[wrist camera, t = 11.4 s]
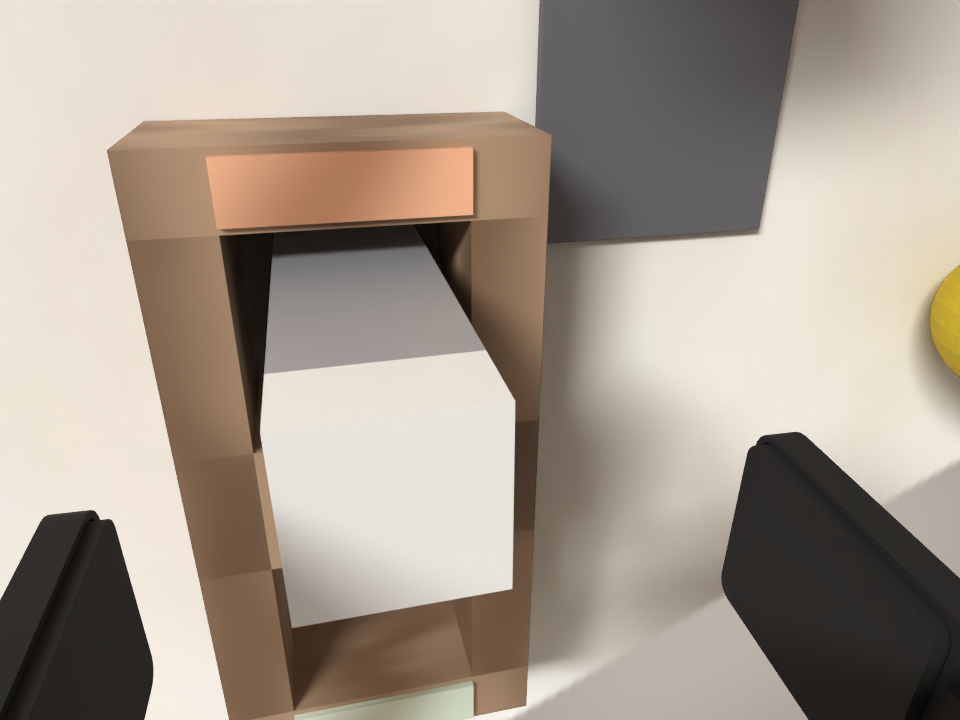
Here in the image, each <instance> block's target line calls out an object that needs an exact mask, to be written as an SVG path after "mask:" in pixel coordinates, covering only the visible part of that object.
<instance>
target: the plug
mask: <svg viewBox="0 0 960 720" xmlns="http://www.w3.org/2000/svg"><path fill="white" fill-rule="evenodd" d="M260 436H261V442H262V448H263V454H264V460H265V466H266V473H267V479H268V485H269V491H270V497H271V503H272V509H273V515H274V521H275V528H276V534H277V540H278V546H279V552H280V558H281V564H282V570H283V576H284V582H285V589H286V595H287V601H288V607H289V613H290V619H291V625H292V628H296V627H301V626H307V625H313V624H318V623H324V622H330V621H335V620H341V619H346V618H352V617H358V616H363V615H369V614H375V613H380V612H386V611H391V610H397V609H403V608H408V607H414V606H420V605H425V604H431V603H436V602H442V601H448V600H453V599H459V598H465V597H470V596H476V595H481V594H487V593H493V592H498V591H504V590H510V589H512V583H513V519H514V454H515V400H514V398H513V396H512V394H511V393H510V391H509V389H508V387H507V386H506V384H505V382H504V381H503V379H502V377H501V375H500V374H499V372H498V370H497V368H496V367H495V365H494V363H493V361H492V360H491V358H490V356H489V354H488V353H487V351H486V349H485V348H484V346H483V344H482V342H481V341H480V339H479V337H478V335H477V334H476V332H475V330H474V328H473V327H472V325H471V323H470V321H469V320H468V318H467V316H466V315H465V313H464V311H463V309H462V308H461V306H460V304H459V302H458V301H457V299H456V297H455V295H454V294H453V292H452V290H451V288H450V287H449V285H448V283H447V281H446V280H445V278H444V276H443V275H442V273H441V271H440V269H439V268H438V266H437V264H436V262H435V261H434V259H433V257H432V255H431V254H430V252H429V250H428V248H427V247H426V245H425V243H424V242H423V240H422V238H421V236H420V235H419V233H418V231H417V229H416V228H415V226H414V224H408V225H391V226H374V227H357V228H339V229H322V230H305V231H288V232H274V238H273V252H272V267H271V281H270V295H269V310H268V324H267V338H266V353H265V367H264V382H263V396H262V410H261V425H260Z"/></svg>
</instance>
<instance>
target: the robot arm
mask: <svg viewBox="0 0 960 720" xmlns="http://www.w3.org/2000/svg"><path fill="white" fill-rule="evenodd" d="M721 578H722V586H723V590H724V592H725V595H726V597H727V599H728V600H729V602H730V603H731V604H732V606H733V607H734V609H735V611H736V612H737V614H738V615H739V617H740V618H741V619H742V621H743V623H744V624H745V625H746V627H747V628H748V630H749V631H750V633H751V634H752V636H753V637H754V639H755V640H756V642H757V643H758V645H759V646H760V648H761V649H762V651H763V652H764V654H765V655H766V657H767V658H768V660H769V661H770V663H771V664H772V666H773V667H774V669H775V670H776V672H777V673H778V675H779V676H780V678H781V679H782V681H783V682H784V684H785V685H786V687H787V688H788V690H789V691H790V693H791V694H792V696H793V697H794V699H795V700H796V702H797V703H798V705H799V706H800V708H801V709H802V711H803V712H804V713H805V715H806V716H807V718H808V720H960V578H959V577H958V576H956V575H955V574H954V573H953V572H952V571H951V570H950V569H949V568H948V567H947V566H946V565H945V564H944V563H943V562H941V561H940V560H939V559H938V558H937V557H936V556H935V555H934V554H933V553H932V552H931V551H929V550H928V549H927V548H926V547H925V546H924V545H923V544H922V543H921V542H920V541H919V540H918V539H916V538H915V537H914V536H913V535H912V534H911V533H910V532H909V531H908V530H907V529H906V528H905V527H904V526H902V525H901V524H900V523H899V522H898V521H897V520H896V519H895V518H894V517H893V516H892V515H891V514H889V513H888V512H887V511H886V510H885V509H884V508H883V507H882V506H881V505H880V504H879V503H878V502H876V501H875V500H874V499H873V498H872V497H871V496H870V495H869V494H868V493H867V492H866V491H865V490H863V489H862V488H861V487H860V486H859V485H858V484H857V483H856V482H855V481H854V480H853V479H852V478H850V477H849V476H848V475H847V474H846V473H845V472H844V471H843V470H842V469H841V468H840V467H839V466H837V465H836V464H835V463H834V462H833V461H832V460H831V459H830V458H829V457H828V456H827V455H826V454H824V453H823V452H822V451H821V450H820V449H819V448H818V447H817V446H816V445H815V444H814V443H813V442H811V441H810V440H809V439H808V438H807V437H806V436H805V435H803V434H802V433H799V432H790V433H781V434H772V435H765V436H762V437H760V439H759V440H758V441H757V444H756V446H753V447H751V448H750V449H749V451H748V454H747V457H746V462H745V467H744V471H743V476H742V481H741V486H740V490H739V495H738V500H737V504H736V509H735V514H734V518H733V523H732V528H731V532H730V537H729V542H728V546H727V551H726V556H725V560H724V565H723V570H722V577H721ZM152 683H153V661H152V656H151V652H150V649H149V645H148V642H147V638H146V634H145V631H144V627H143V624H142V620H141V617H140V613H139V610H138V606H137V603H136V599H135V596H134V592H133V588H132V585H131V581H130V578H129V574H128V571H127V567H126V564H125V560H124V557H123V553H122V550H121V546H120V542H119V539H118V535H117V532H116V528H115V526H114V523H113V522H112V520H110V519H106V520H100V519H99V516H98V515H97V513H96V512H95V511H92V510H88V511H79V512H70V513H61V514H52V515H47V516H45V517H44V518H43V519H42V521H41V522H40V524H39V526H38V528H37V530H36V532H35V534H34V536H33V537H32V539H31V541H30V543H29V545H28V547H27V549H26V551H25V553H24V555H23V557H22V559H21V561H20V563H19V565H18V567H17V569H16V571H15V573H14V575H13V577H12V579H11V580H10V582H9V584H8V586H7V588H6V590H5V592H4V594H3V596H2V598H1V600H0V720H144V718H145V714H146V710H147V706H148V701H149V697H150V693H151V688H152Z"/></svg>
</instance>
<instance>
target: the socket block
mask: <svg viewBox="0 0 960 720" xmlns="http://www.w3.org/2000/svg"><path fill="white" fill-rule="evenodd" d="M551 138H552V135H551V134H548V133H546V132H544V131H542V130H540V129H538V128H536V127H534V126H532V125H530V124H528V123H526V122H524V121H522V120H520V119H518V118H515V117H513V116H511V115H509V114H507V113H505V112H478V113H441V114H404V115H367V116H330V117H293V118H255V119H218V120H181V121H144V122H142V123H141V124H140V125H139V126H137V127H136V128H135V129H133V130H132V131H131V132H130V133H128V134H127V135H126V136H125V137H123V138H122V139H121V140H119V141H118V142H117V143H116V144H114V145H113V146H112V147H110V148H109V149H108V150H107V153H108V158H109V163H110V167H111V172H112V177H113V181H114V186H115V191H116V195H117V200H118V205H119V209H120V214H121V219H122V223H123V228H124V233H125V237H126V242H127V246H128V251H129V256H130V260H131V265H132V270H133V274H134V279H135V284H136V288H137V293H138V298H139V302H140V307H141V312H142V316H143V321H144V326H145V330H146V335H147V340H148V344H149V349H150V353H151V358H152V363H153V367H154V372H155V377H156V381H157V386H158V391H159V395H160V400H161V405H162V409H163V414H164V419H165V423H166V428H167V433H168V437H169V442H170V447H171V451H172V456H173V460H174V465H175V470H176V474H177V479H178V484H179V488H180V493H181V498H182V502H183V507H184V512H185V516H186V521H187V526H188V530H189V535H190V540H191V544H192V549H193V554H194V558H195V563H196V567H197V572H198V577H199V581H200V586H201V591H202V595H203V600H204V605H205V609H206V614H207V619H208V623H209V628H210V633H211V637H212V642H213V647H214V651H215V656H216V661H217V665H218V670H219V674H220V679H221V684H222V688H223V693H224V698H225V702H226V707H227V712H228V716H229V720H464V719H469V718H474V716H478V715H482V714H487V713H492V712H497V711H502V710H507V709H512V708H517V707H522V706H526V697H527V674H528V652H529V630H530V607H531V585H532V563H533V540H534V518H535V495H536V473H537V451H538V428H539V406H540V384H541V361H542V339H543V317H544V294H545V272H546V250H547V227H548V205H549V182H550V160H551ZM425 223H440V260H441V273H442V275H443V276H444V278H445V280H446V281H447V283H448V285H449V287H450V288H451V290H452V292H453V294H454V295H455V297H456V299H457V301H458V302H459V304H460V306H461V308H462V309H463V311H464V313H465V315H466V316H467V318H468V320H469V321H470V323H471V325H472V327H473V328H474V330H475V332H476V334H477V335H478V337H479V339H480V341H481V342H482V344H483V346H484V348H485V349H486V351H487V353H488V354H489V356H490V358H491V360H492V361H493V363H494V365H495V367H496V368H497V370H498V372H499V374H500V375H501V377H502V379H503V381H504V382H505V384H506V386H507V387H508V389H509V391H510V393H511V394H512V396H513V398H514V400H515V454H514V519H513V583H512V589H510V590H504V591H498V592H493V593H487V594H481V595H476V596H470V597H465V598H459V599H453V600H448V601H442V602H436V603H431V604H425V605H420V606H414V607H408V608H403V609H397V610H391V611H386V612H380V613H375V614H369V615H363V616H358V617H352V618H346V619H341V620H335V621H330V622H324V623H318V624H313V625H307V626H301V627H296V628H292V625H291V619H290V613H289V607H288V601H287V595H286V589H285V582H284V576H283V570H282V564H281V558H280V552H279V546H278V540H277V534H276V528H275V521H274V515H273V509H272V503H271V497H270V491H269V485H268V479H267V473H266V466H265V460H264V454H263V448H262V442H261V436H260V425H261V410H262V396H263V382H264V378H262V379H259V373H258V366H257V359H256V352H255V345H254V338H253V331H252V324H251V318H250V311H249V304H248V297H247V290H246V283H245V276H244V269H243V262H242V256H241V249H240V242H239V235H238V234H254V233H271V232H288V231H305V230H322V229H339V228H357V227H374V226H391V225H408V224H425Z"/></svg>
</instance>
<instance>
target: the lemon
mask: <svg viewBox="0 0 960 720" xmlns="http://www.w3.org/2000/svg"><path fill="white" fill-rule="evenodd" d="M930 328H931V333H932V339H933V342H934V344H935V347H936V348H937V350H938V352H939V354H940V356H941V357H942V359H943V360H944V362H945V363H946V364H947V366H948V367H949V368H950V369H951V370H952V371H953V372H954V373H956V374H957V375H958V376H959V377H960V265H959V266H958V267H957V268H955V269H954V270H953V271H952V272H951V273H950V274H949V275H948V276H947V277H946V279H945V280H944V281H943V283H942V284H941V285H940V287H939V289H938V291H937V293H936V295H935V297H934V300H933V303H932V306H931V314H930Z"/></svg>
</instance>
